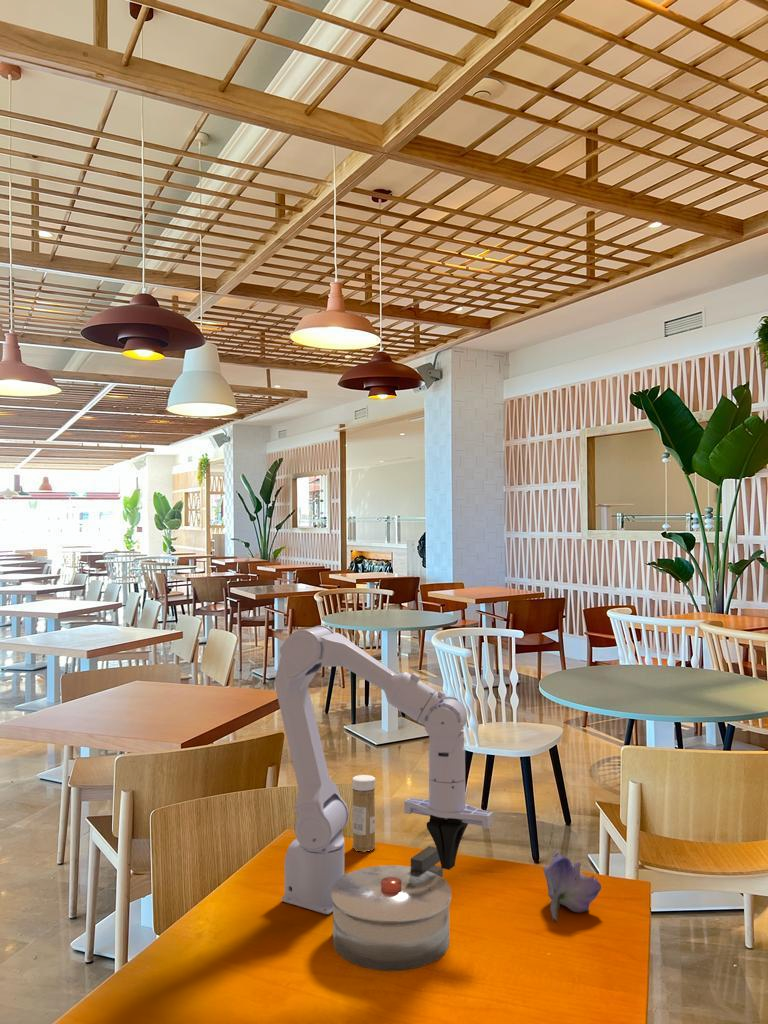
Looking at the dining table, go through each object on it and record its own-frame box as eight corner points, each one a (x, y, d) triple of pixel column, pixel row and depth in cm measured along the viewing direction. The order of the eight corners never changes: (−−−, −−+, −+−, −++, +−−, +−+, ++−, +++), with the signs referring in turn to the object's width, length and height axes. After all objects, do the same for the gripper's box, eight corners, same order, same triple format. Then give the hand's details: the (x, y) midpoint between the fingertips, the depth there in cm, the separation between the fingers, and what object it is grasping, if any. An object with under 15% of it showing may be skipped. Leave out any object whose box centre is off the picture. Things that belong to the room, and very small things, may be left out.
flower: (577, 889, 110) (580, 838, 119) (526, 902, 114) (533, 851, 123) (608, 934, 112) (609, 880, 121) (557, 945, 116) (561, 891, 125)
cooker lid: (413, 936, 97) (413, 916, 98) (306, 904, 107) (306, 885, 107) (484, 875, 116) (484, 858, 116) (388, 852, 126) (388, 836, 126)
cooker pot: (414, 984, 97) (414, 936, 98) (309, 949, 106) (309, 905, 107) (484, 912, 117) (484, 873, 117) (391, 888, 126) (391, 852, 126)
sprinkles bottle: (380, 849, 143) (380, 778, 144) (359, 855, 140) (359, 782, 141) (367, 842, 147) (367, 772, 148) (347, 847, 144) (347, 776, 145)
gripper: (499, 778, 117) (501, 867, 116) (418, 765, 125) (419, 849, 124) (481, 789, 111) (483, 884, 110) (397, 776, 118) (398, 864, 118)
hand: (448, 866), depth 116 cm, fingers closed
